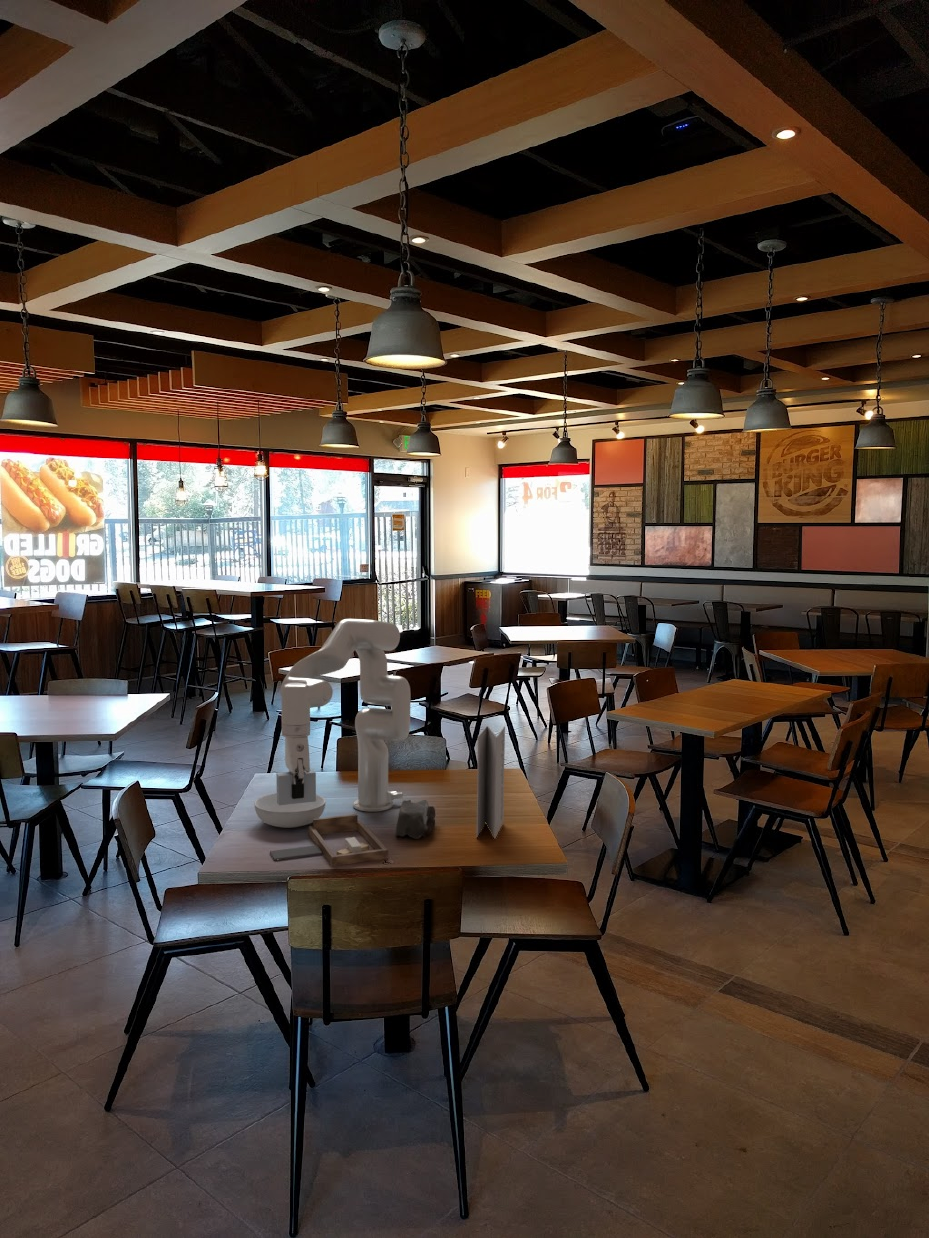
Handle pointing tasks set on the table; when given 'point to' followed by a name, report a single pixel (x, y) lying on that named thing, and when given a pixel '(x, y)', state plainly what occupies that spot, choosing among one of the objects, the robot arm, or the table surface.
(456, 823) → the table surface
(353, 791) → the table surface
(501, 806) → the brochure
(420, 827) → the rock
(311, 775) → the light grey block
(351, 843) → the offcut upper
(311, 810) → the serving bowl
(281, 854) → the mat
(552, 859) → the table surface
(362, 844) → the offcut lower
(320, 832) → the wooden tray
